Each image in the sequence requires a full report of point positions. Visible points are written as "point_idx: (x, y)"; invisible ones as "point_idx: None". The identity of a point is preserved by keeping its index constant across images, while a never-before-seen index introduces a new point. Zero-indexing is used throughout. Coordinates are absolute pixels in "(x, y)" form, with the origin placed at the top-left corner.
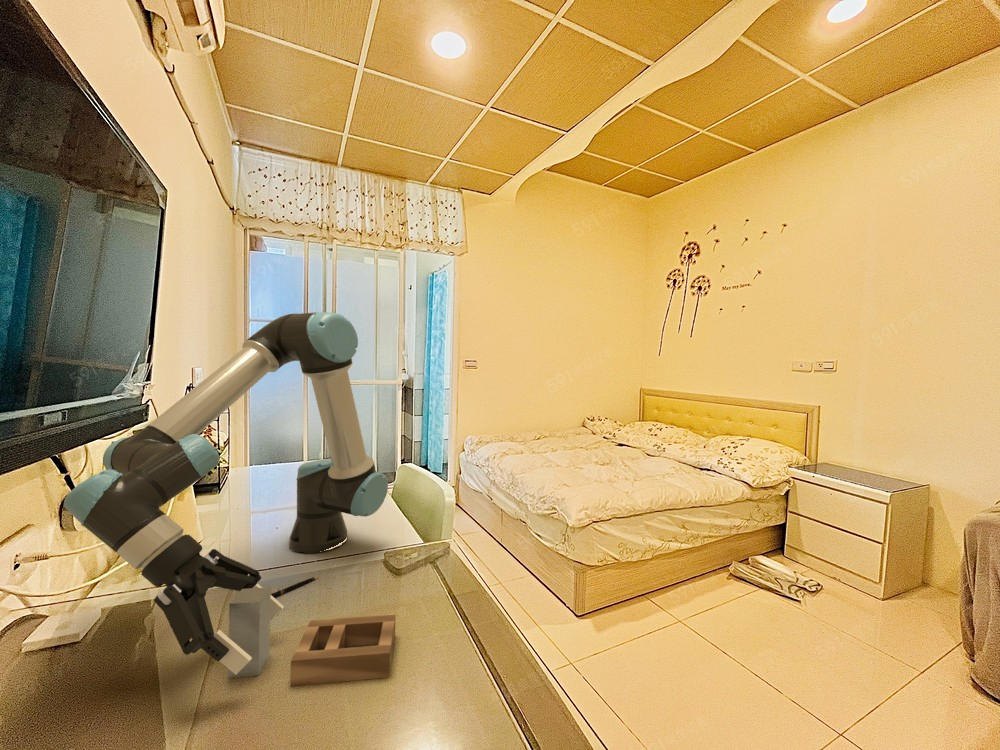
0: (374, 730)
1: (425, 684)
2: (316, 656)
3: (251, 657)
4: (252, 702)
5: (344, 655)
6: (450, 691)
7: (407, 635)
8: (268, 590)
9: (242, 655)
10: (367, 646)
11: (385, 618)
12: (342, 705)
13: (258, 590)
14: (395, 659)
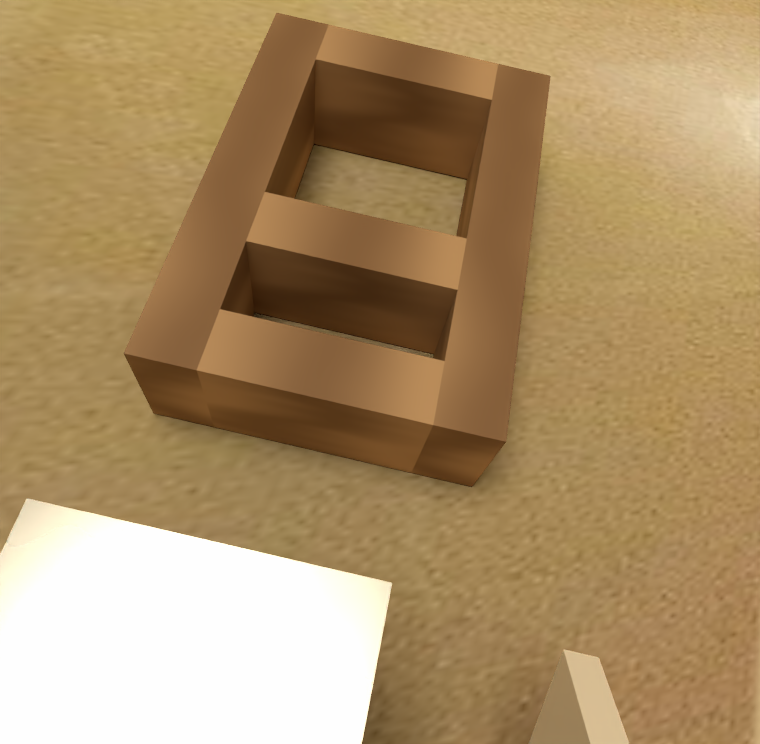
0: (744, 225)
1: (578, 79)
2: (502, 324)
3: (569, 652)
4: (537, 652)
5: (525, 216)
6: (621, 36)
7: None
8: (99, 517)
9: (615, 712)
10: (487, 133)
11: (289, 47)
12: (625, 299)
13: (35, 655)
14: None
